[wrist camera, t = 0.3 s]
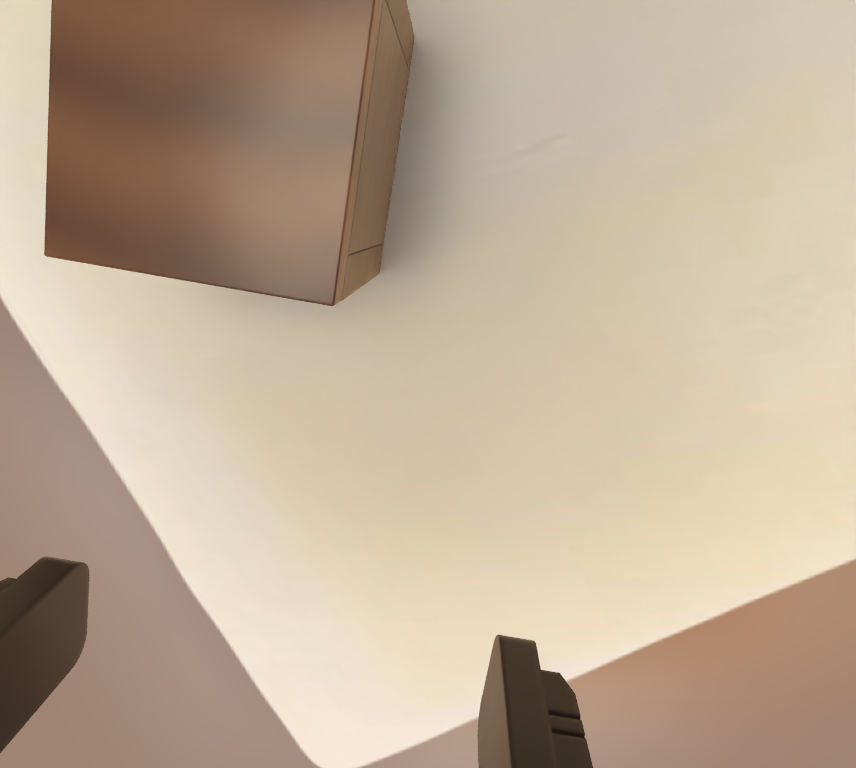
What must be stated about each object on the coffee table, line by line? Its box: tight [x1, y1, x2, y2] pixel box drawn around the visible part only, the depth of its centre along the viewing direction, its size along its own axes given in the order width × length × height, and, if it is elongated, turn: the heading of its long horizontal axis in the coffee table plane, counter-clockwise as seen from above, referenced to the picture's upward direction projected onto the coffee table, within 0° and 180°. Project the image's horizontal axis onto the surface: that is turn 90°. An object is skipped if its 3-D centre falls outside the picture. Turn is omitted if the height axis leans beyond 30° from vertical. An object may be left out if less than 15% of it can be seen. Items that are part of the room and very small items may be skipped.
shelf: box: [44, 0, 414, 306], centre depth 31 cm, size 13×11×15 cm
